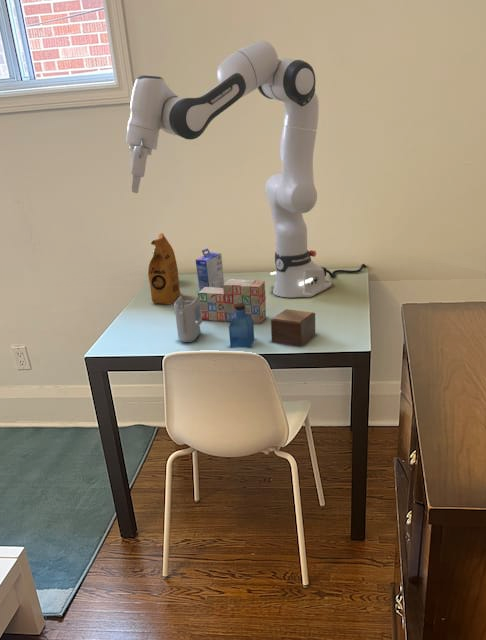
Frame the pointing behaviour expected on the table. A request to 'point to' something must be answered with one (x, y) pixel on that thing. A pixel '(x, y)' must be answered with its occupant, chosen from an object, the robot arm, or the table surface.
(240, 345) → the perfume bottle
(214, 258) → the ink cartridge box
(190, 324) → the cable organizer
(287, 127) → the robot arm
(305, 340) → the walnut block
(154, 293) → the coffee package
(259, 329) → the table surface
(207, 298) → the stack of blocks
